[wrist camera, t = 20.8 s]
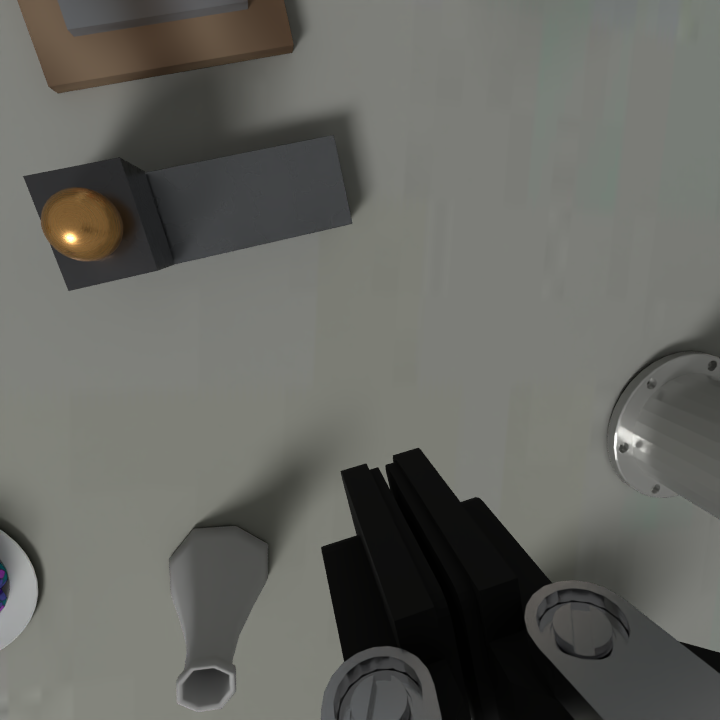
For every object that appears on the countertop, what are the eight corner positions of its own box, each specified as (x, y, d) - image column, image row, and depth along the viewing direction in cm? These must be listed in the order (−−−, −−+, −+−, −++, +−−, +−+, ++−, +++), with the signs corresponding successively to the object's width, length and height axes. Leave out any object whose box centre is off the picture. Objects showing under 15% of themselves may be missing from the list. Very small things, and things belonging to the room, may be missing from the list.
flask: (184, 512, 33) (156, 622, 24) (283, 533, 35) (293, 642, 26) (154, 599, 35) (116, 736, 25) (252, 615, 37) (250, 747, 27)
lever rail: (328, 141, 29) (333, 134, 27) (346, 224, 31) (352, 223, 29) (74, 192, 27) (59, 189, 25) (105, 279, 29) (94, 282, 27)
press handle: (144, 171, 26) (99, 146, 18) (174, 264, 27) (144, 275, 20) (66, 187, 25) (-12, 167, 18) (101, 280, 26) (42, 298, 19)
